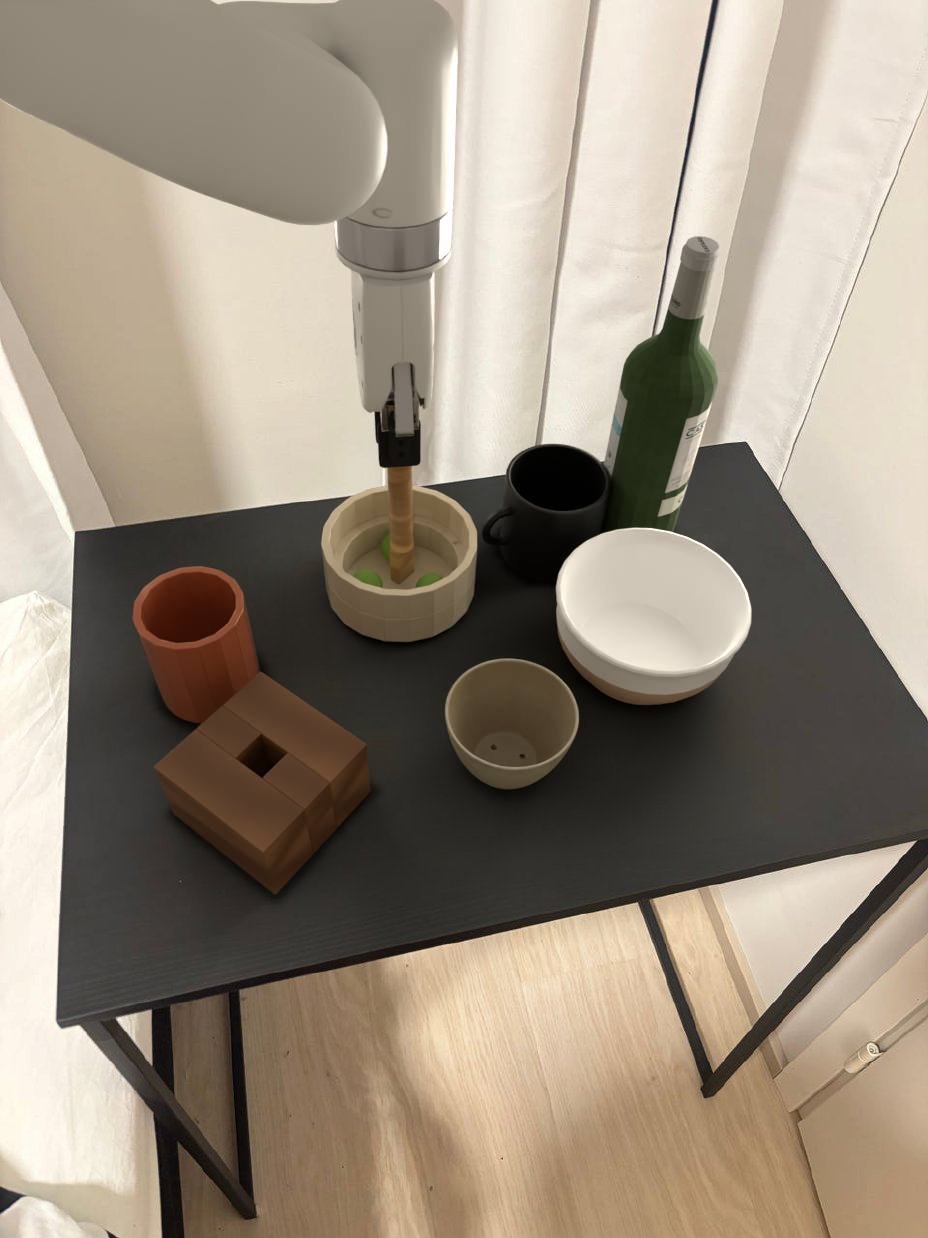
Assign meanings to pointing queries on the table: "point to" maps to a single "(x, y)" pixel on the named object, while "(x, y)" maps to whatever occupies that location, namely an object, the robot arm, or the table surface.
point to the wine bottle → (663, 405)
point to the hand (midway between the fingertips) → (397, 451)
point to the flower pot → (510, 721)
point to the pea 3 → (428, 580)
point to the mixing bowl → (357, 545)
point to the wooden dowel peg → (400, 521)
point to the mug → (549, 508)
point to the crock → (196, 639)
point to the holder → (266, 780)
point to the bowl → (650, 614)
